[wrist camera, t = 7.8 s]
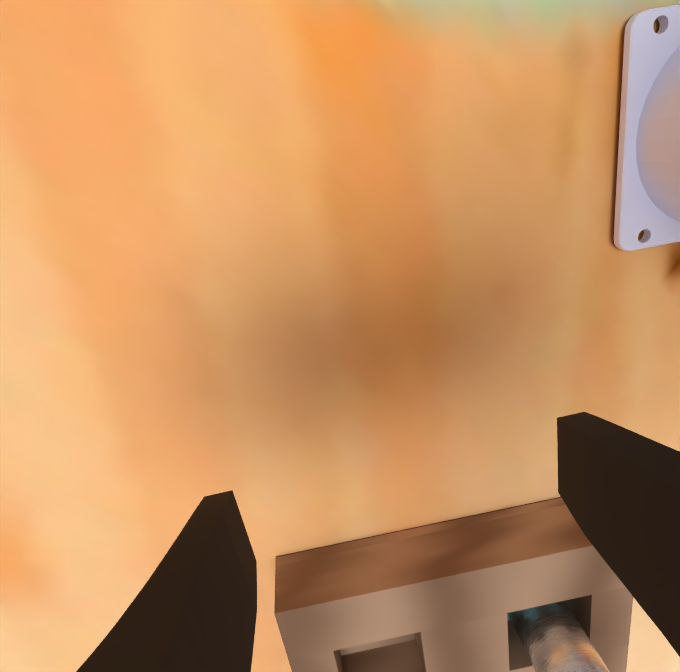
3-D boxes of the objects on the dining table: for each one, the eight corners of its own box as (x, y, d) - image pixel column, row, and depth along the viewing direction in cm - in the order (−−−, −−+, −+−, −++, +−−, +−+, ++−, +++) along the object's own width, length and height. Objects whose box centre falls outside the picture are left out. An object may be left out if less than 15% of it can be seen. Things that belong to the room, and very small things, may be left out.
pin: (533, 561, 24) (627, 715, 17) (562, 588, 25) (663, 743, 18) (489, 594, 24) (566, 756, 18) (520, 619, 25) (603, 781, 19)
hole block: (596, 489, 23) (638, 535, 21) (590, 629, 27) (624, 684, 24) (275, 557, 23) (274, 613, 20) (313, 690, 27) (317, 753, 24)
